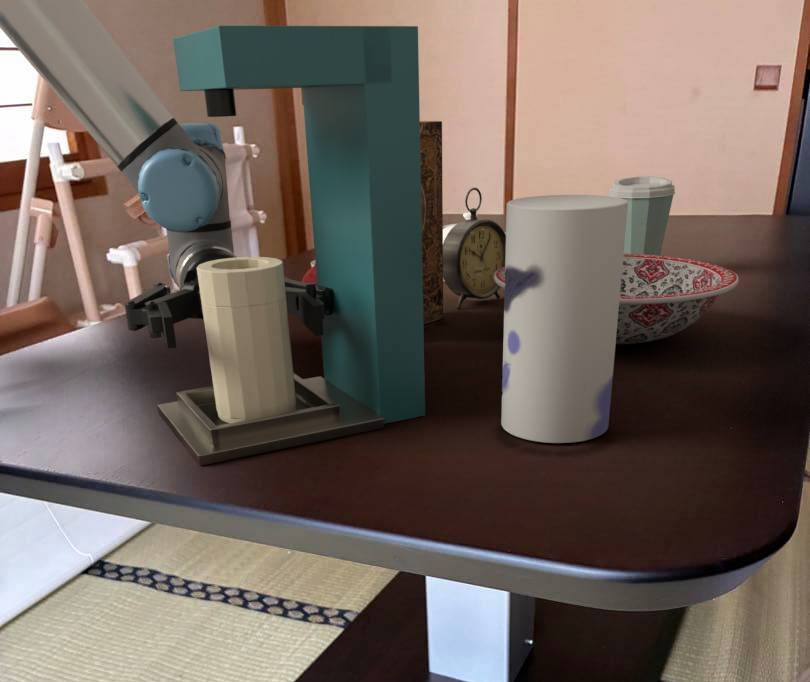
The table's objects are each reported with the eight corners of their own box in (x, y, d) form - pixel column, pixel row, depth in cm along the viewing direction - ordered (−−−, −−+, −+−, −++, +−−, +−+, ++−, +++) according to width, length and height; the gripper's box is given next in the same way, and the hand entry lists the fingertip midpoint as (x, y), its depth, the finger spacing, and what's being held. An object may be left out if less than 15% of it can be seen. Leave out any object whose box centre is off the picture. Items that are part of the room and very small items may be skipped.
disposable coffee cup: (674, 279, 137) (685, 180, 130) (608, 281, 138) (616, 183, 131) (658, 268, 147) (668, 175, 140) (596, 269, 147) (603, 177, 140)
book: (420, 311, 122) (416, 121, 111) (448, 316, 119) (448, 121, 107) (338, 334, 112) (325, 126, 100) (367, 341, 109) (357, 127, 97)
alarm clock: (459, 312, 121) (459, 192, 114) (434, 307, 125) (432, 189, 117) (511, 300, 128) (514, 185, 120) (485, 295, 131) (487, 183, 124)
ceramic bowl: (463, 360, 100) (463, 291, 96) (524, 306, 123) (526, 249, 120) (721, 381, 90) (733, 305, 86) (734, 318, 114) (743, 257, 110)
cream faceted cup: (208, 407, 84) (187, 262, 77) (280, 394, 87) (266, 253, 80) (231, 430, 78) (210, 275, 71) (307, 416, 81) (294, 265, 74)
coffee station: (158, 413, 86) (92, 39, 70) (362, 377, 95) (343, 38, 79) (200, 466, 73) (130, 24, 58) (430, 418, 82) (424, 25, 67)
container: (482, 418, 82) (485, 198, 72) (569, 402, 85) (583, 190, 76) (536, 452, 74) (547, 209, 64) (630, 433, 77) (653, 200, 68)
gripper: (324, 308, 98) (378, 355, 80) (103, 326, 91) (108, 381, 73) (321, 241, 94) (377, 274, 76) (91, 254, 87) (93, 293, 69)
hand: (246, 326), depth 75 cm, fingers open, 13 cm apart
